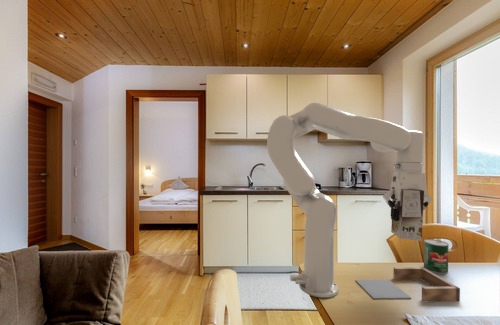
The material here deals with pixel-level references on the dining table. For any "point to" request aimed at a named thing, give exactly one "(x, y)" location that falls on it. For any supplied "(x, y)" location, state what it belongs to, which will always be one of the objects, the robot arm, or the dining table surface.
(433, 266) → the canned tomato
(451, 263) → the dining table surface
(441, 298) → the cubby
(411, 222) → the coffee box
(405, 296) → the mat
